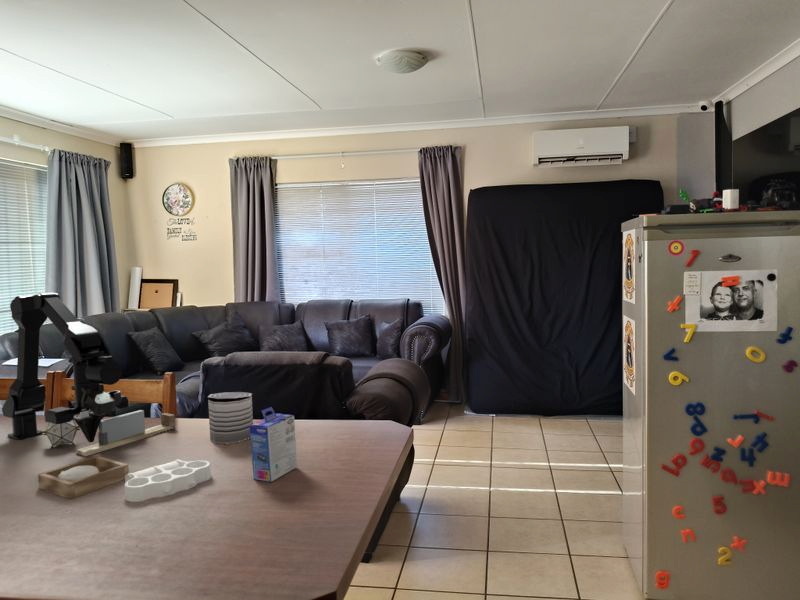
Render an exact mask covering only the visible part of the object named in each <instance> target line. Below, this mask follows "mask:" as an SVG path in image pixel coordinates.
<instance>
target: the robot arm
mask: <svg viewBox="0 0 800 600" xmlns="http://www.w3.org/2000/svg"><path fill="white" fill-rule="evenodd" d="M9 307H10V312H11V318H12V320H13V321H14V322H15V324H16V326H17V327H18V332H17V333H18V337H17V339H18V340H17V362H16V363H17V365H16V377H15V378H16V379H15V380H14V381H13V382H12V384H11V385H10V387H8V388H9V389H8V397H7V398H6V400H5V402H4V404H3V406H2V407H1V412H2V416H3V417H6V418H10V419H11V422H12V423H11V424H12V425H11V426H12V433H8V434H7V437H9V438H12V439H16V440H22V439H26V438H29V437H34V436H37V435H41V434H43V433H42V432H43V431H44V430H39V429H38V424H37V412H38V413H39V412H43V411H44V410H45V406H46V405H45V403H46V398H47V397H46V390H47V388H46V386H45V385H43V383H42V382H41V381H40V379H39V361H40V360H39V359H40V358H39V357H40V337H41V335H40V334H41V327H42V326H43V325H44V323H46V321H47V320H48V319H49V321H51V323H52V324H53V325H54V326H55V327H56V329H57V330H58V331H59V332H60V333H61V334H62V336H63V341H62V344H63V345H64V347H65V349H66V350H67V352H68V353H69V354H70V355H71V357H70V358H69V359H68V360H67V361H68V363H70V364H72V370H73V371H72V372H73V385H71V390H72V391H74V400H75V401H72V406H73V408H69V407H65V406H59V407H55V408H51V409H46V412H45V413H44V421H45V422H46V423H48V424H49V423H53V424H62V423H66V422H70V421H72V420H73V421H74V423H75V424H76V425H77V426H79V429H80V430H81V433H82V434H83V435H84V437H85V439H86V440H87V442H88V443H89V444H91V443H94V440H95V437H96V435H97V433H98V430H99V424H100V422H101V420H104V418H105V417H106V416H108V415H109V413H112V412H114V411H115V408H116V409H118V410H120V409H121V410H122V409H126V408H130V399H129V397H127V395H122V393H121V391H120V390H119V389H117V390H111V391H107V392H106V390H105V388H104V387H105V386H104V385H107V386H111V385H115V384H116V383H117V382H119V381H120V379H121V377H122V375H123V369H122V367H121V365H120V364H119V362H117V361H115V359H114V356H112V353H111V352H110V348H109V347H108V345H107V344H106V341H105V340H104V338H103V336H102V335H101V333H100V331H98V330H97V329H95V328H94V327H93V326H92V325H88V324H86V323H83V322H81V321H80V320H79V319H78V317H77V316H76V315H74V313H73V312H72V310H70V308H68V307H67V306H66V304H65V303H63V301H62V300H61V297H60V294H58V293H57V292H43V293H42V292H39V293H38V294H32V295H31V294H30V295H19V296H15V297H14V298H13V299H11V301H10V305H9Z"/></svg>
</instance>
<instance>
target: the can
mask: <svg viewBox="0 0 800 600" xmlns="http://www.w3.org/2000/svg"><path fill="white" fill-rule="evenodd" d="M207 398H208V400H207V402H208V419H209V421H208V422H209V437H210V438H209V440H210V441H211V442H212V443H214V442H215V443H214V444H221V443H230V444H234V443H233V442H237V443H240V442H239V441H243V440H245V439H248V438H250V425H252V424H254V416H253V415H254V414H253V412H254V411H253V399H252V398H253V393H251V392H244V391H243V392H242V391H233V392H232V391H231V392H229V391H228V392H227V391H226V392H218V393H211V394H209V395H208V396H207ZM248 440H249V439H248ZM245 441H246V440H245ZM243 442H244V441H243Z"/></svg>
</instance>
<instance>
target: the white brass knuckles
mask: <svg viewBox="0 0 800 600" xmlns="http://www.w3.org/2000/svg"><path fill="white" fill-rule="evenodd" d="M211 478H212V470H211V462H210V461H208V460H201V459H200V460H193V461H184V460H182V459H175V460H173V461H170V462H168V463H167V462H166V463H163V464H160V465H153V466H151V467H148V468H145V469H142V470H138V471H135V472H129V473H128V474H127V475H125V479H124V482H125V483H124V485H123V486H124V499H125V500H126V501H127V502H131V503H135V502H137V503H140V502H144V501H146V500H149V499H152V498H153V499H154V498H163V497H167V496H172V495H174V494H176V493H178V492H181V491H188V490H189V489H192V488H194V487H196V486H197V485H198V484H200V483H203V482H206V481H209V480H211ZM197 483H198V484H197Z"/></svg>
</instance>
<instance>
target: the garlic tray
mask: <svg viewBox="0 0 800 600" xmlns="http://www.w3.org/2000/svg"><path fill="white" fill-rule="evenodd" d="M86 465H88V466H95V467H97V468H98V470H99V473H97V474H94V475H91V476H88V477H85V478H82V479H79V480H76V481H73V482H69V481H66V480H63V479H60V478H58V475H60V473H61V472H62V471H66V470H69V469H71V468H73V467H76V466H86ZM129 468H130V467H129V464H128V463H125V462H122V461H121V462H120V461H117V460H114V459H110V458H107V457H103V456H99V455H95V456H92V457H91V456H90V457H89V458H86V459H82V460H79V461H76V462H73V463H70V464H65V465H64V466H60V467H57V468H53V469H50V470H48V471H44V472H41V473H39V474H37V478H38V479H37V481H38V488H39V489H41V490H44V491H47V492H49V493H52V494H54V493H55V495H58V496H60V497H63V498H66V499H69V500H72V499H74V498H77V497H80V496H82V495H86V494H88V493H91V492H93V491H96V490H99V489H102V488H105V487H107V486H110V485H113V484H117V483H119V482H121V481H123V480H124V481H125V475H127V474H128V473H130V471H129V470H130V469H129Z"/></svg>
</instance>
